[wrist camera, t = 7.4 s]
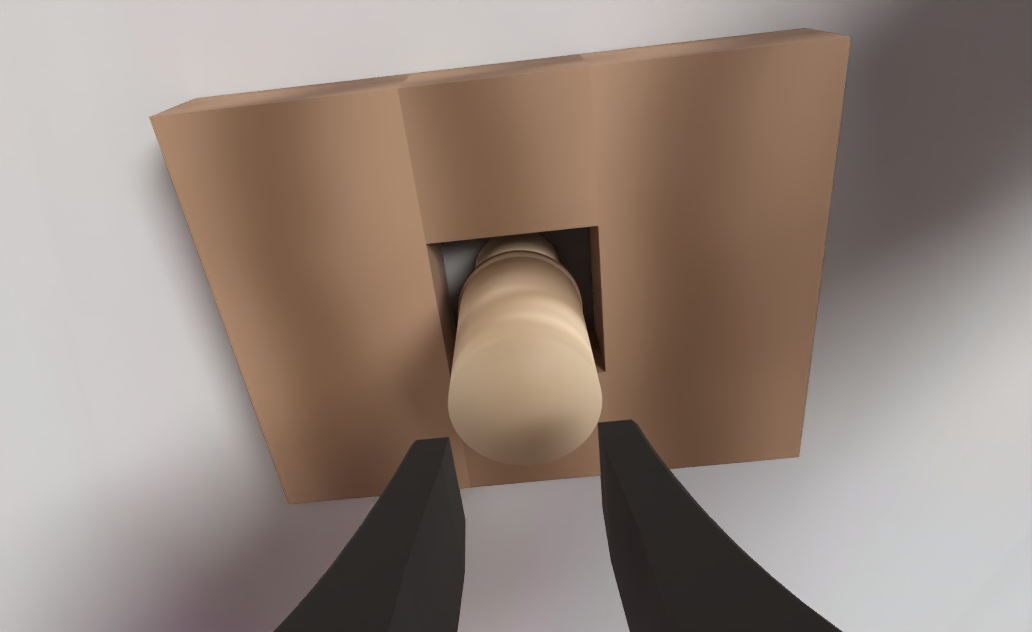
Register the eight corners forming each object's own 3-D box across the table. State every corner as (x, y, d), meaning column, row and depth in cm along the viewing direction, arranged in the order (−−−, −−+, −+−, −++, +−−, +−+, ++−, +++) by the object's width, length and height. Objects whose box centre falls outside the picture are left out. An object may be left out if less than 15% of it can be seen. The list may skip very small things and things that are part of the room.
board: (805, 28, 17) (851, 36, 14) (769, 409, 22) (798, 456, 20) (194, 98, 17) (149, 117, 15) (309, 452, 23) (288, 504, 21)
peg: (570, 213, 19) (603, 329, 13) (574, 314, 20) (605, 461, 14) (457, 223, 19) (435, 342, 13) (469, 322, 20) (455, 472, 14)
